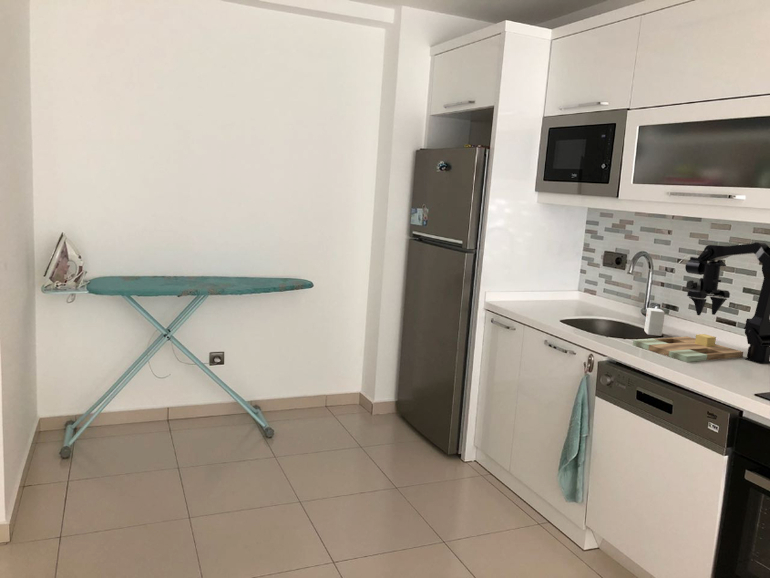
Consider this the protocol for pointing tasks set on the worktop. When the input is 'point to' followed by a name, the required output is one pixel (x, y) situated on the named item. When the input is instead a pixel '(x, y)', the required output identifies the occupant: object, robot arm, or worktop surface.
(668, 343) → the trap deck
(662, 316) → the small box
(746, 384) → the worktop surface
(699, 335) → the mustard block
